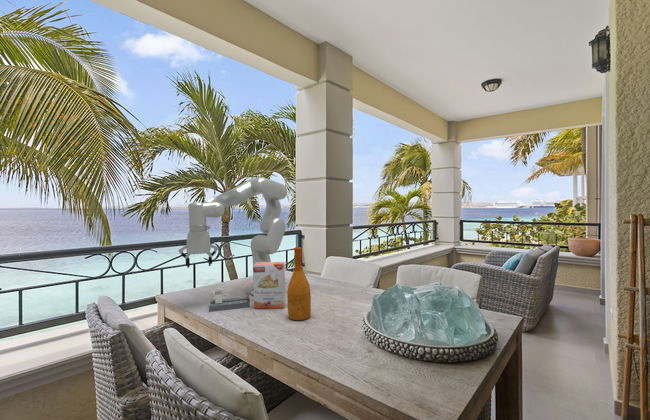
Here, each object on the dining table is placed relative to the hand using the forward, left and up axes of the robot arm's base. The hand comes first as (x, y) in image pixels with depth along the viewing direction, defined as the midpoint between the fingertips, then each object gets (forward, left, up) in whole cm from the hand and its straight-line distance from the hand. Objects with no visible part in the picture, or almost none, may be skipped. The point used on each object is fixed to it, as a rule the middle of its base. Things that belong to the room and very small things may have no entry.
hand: (199, 266), depth 145 cm
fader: (-8, 0, -18) cm, 20 cm away
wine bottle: (-41, +26, -20) cm, 53 cm away
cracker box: (-31, +8, -20) cm, 38 cm away
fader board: (-13, 0, -20) cm, 24 cm away
